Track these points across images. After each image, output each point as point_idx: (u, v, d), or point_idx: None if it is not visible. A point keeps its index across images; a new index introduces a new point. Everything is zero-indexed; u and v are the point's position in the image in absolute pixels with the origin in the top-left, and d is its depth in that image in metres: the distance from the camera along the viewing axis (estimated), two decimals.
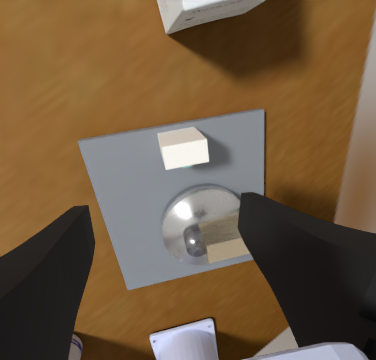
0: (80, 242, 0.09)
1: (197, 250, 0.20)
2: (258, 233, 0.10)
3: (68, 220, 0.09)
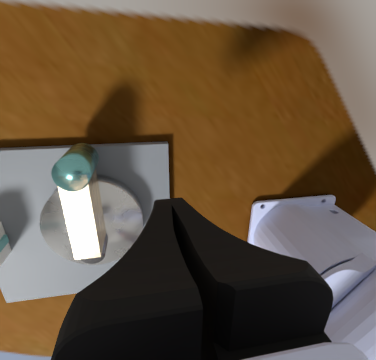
0: None
1: None
2: None
3: (166, 211, 0.09)
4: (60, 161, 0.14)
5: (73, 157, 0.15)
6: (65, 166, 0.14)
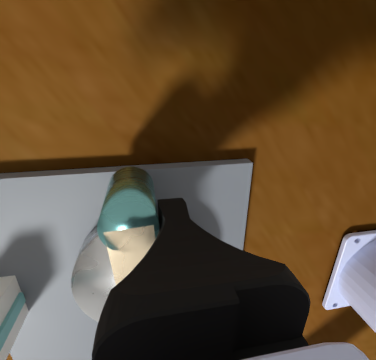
0: None
1: None
2: None
3: (182, 210, 0.09)
4: (112, 208, 0.08)
5: (131, 198, 0.09)
6: (120, 215, 0.08)
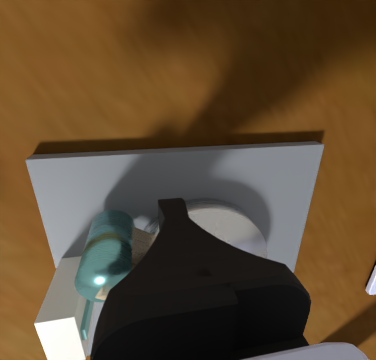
0: None
1: None
2: None
3: (182, 210, 0.09)
4: (76, 282, 0.09)
5: (82, 263, 0.09)
6: (87, 281, 0.09)
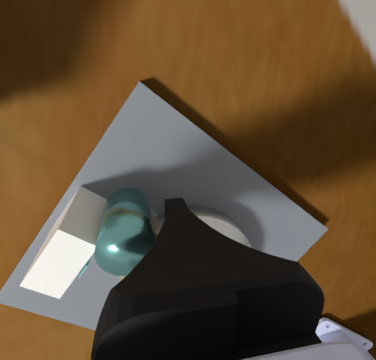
0: None
1: None
2: None
3: (182, 210, 0.09)
4: (99, 244, 0.09)
5: (111, 227, 0.09)
6: (110, 246, 0.09)
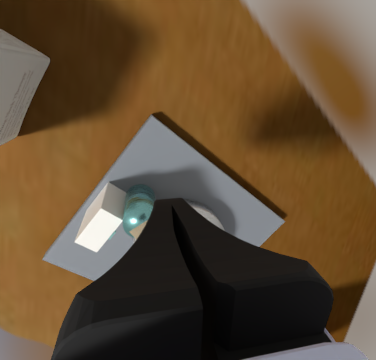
0: None
1: None
2: None
3: (166, 211, 0.09)
4: (126, 217, 0.15)
5: (134, 208, 0.15)
6: (132, 219, 0.15)
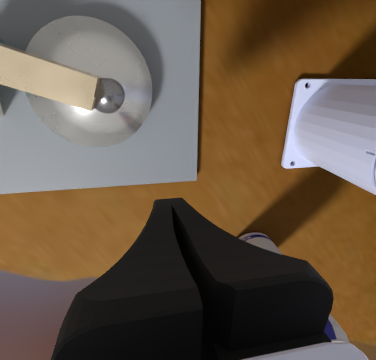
0: None
1: (109, 91, 0.14)
2: None
3: (166, 211, 0.09)
4: None
5: None
6: None
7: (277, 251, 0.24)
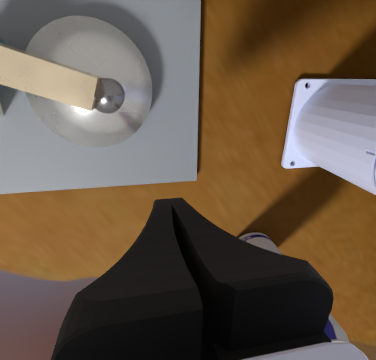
0: None
1: (109, 91, 0.14)
2: None
3: (166, 211, 0.09)
4: None
5: None
6: None
7: (277, 251, 0.24)
